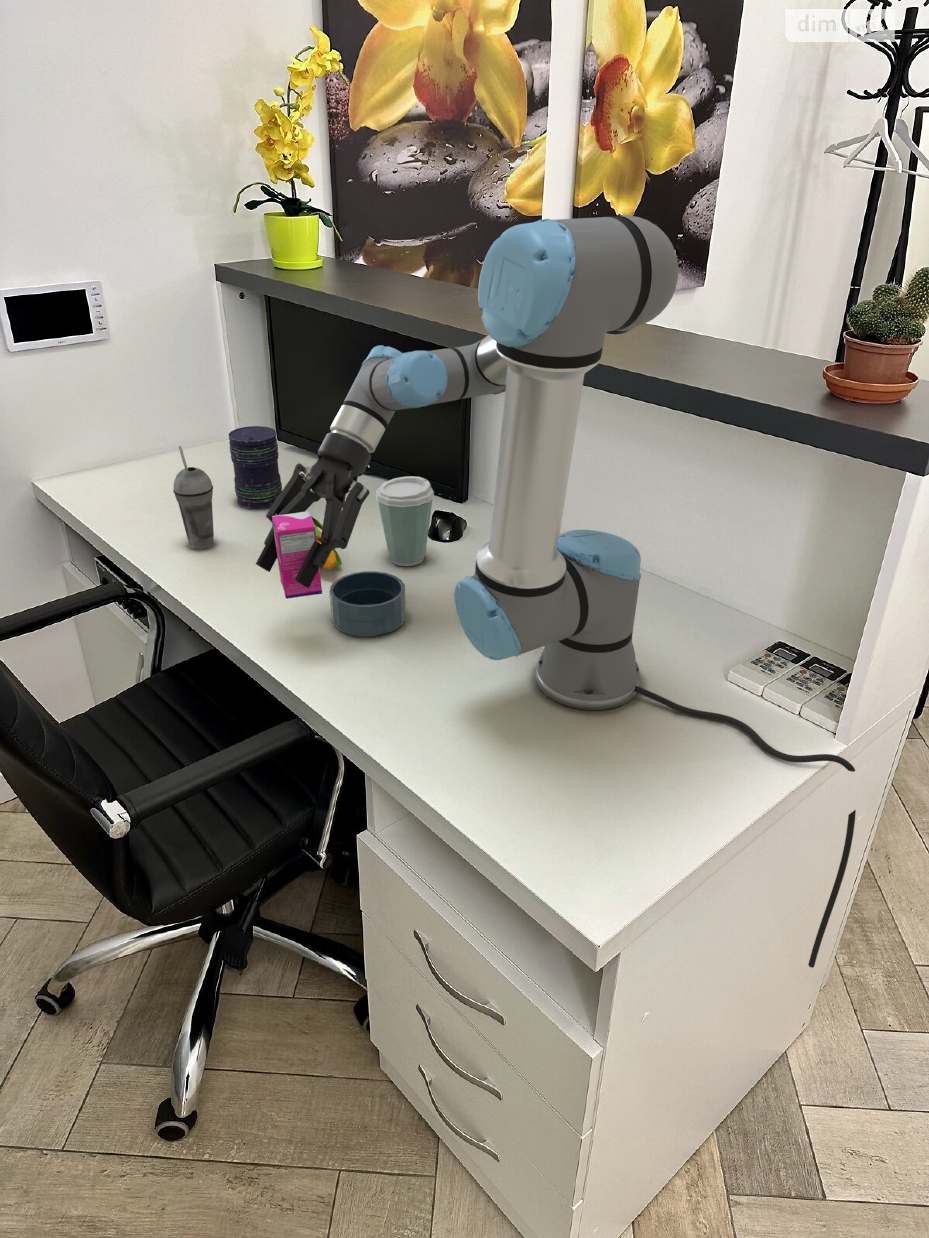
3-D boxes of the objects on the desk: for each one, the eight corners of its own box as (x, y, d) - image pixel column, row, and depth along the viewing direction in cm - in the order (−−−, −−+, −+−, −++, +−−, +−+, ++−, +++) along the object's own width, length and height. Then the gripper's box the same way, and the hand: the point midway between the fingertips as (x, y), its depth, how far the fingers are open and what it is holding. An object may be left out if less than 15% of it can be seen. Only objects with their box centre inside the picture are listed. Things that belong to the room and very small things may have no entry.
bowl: (420, 623, 147) (419, 591, 144) (357, 647, 141) (355, 614, 138) (379, 595, 155) (378, 564, 152) (318, 616, 149) (315, 584, 146)
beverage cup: (223, 549, 171) (209, 449, 161) (184, 555, 168) (167, 454, 158) (218, 534, 177) (204, 437, 166) (180, 540, 174) (163, 441, 164)
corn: (306, 500, 172) (351, 537, 157) (312, 535, 176) (356, 575, 161) (270, 510, 169) (313, 549, 154) (277, 546, 173) (319, 587, 158)
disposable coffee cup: (392, 576, 162) (389, 499, 154) (369, 553, 170) (365, 479, 162) (444, 564, 166) (444, 489, 158) (419, 542, 174) (417, 469, 167)
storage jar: (239, 492, 195) (231, 426, 188) (284, 491, 196) (278, 425, 189) (233, 510, 187) (224, 442, 179) (281, 509, 188) (274, 441, 180)
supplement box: (279, 582, 138) (271, 514, 132) (317, 577, 140) (311, 510, 134) (283, 599, 134) (276, 530, 128) (323, 594, 135) (317, 525, 129)
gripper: (414, 470, 133) (345, 605, 130) (316, 441, 144) (251, 566, 141) (389, 445, 127) (316, 587, 124) (289, 417, 138) (220, 547, 135)
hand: (282, 575), depth 133 cm, fingers closed on supplement box, 8 cm apart
